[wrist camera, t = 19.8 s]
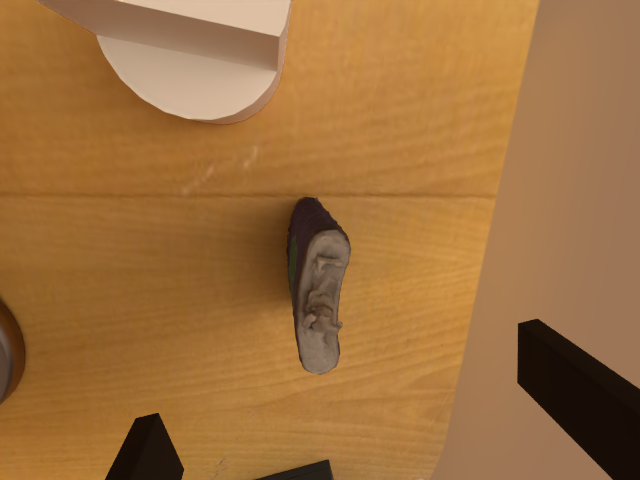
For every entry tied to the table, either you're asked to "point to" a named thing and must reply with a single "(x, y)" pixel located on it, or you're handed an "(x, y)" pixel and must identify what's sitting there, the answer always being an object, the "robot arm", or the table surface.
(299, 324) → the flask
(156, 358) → the table surface
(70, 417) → the table surface
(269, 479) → the box
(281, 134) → the table surface
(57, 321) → the table surface
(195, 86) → the cylinder with rectangular tab
